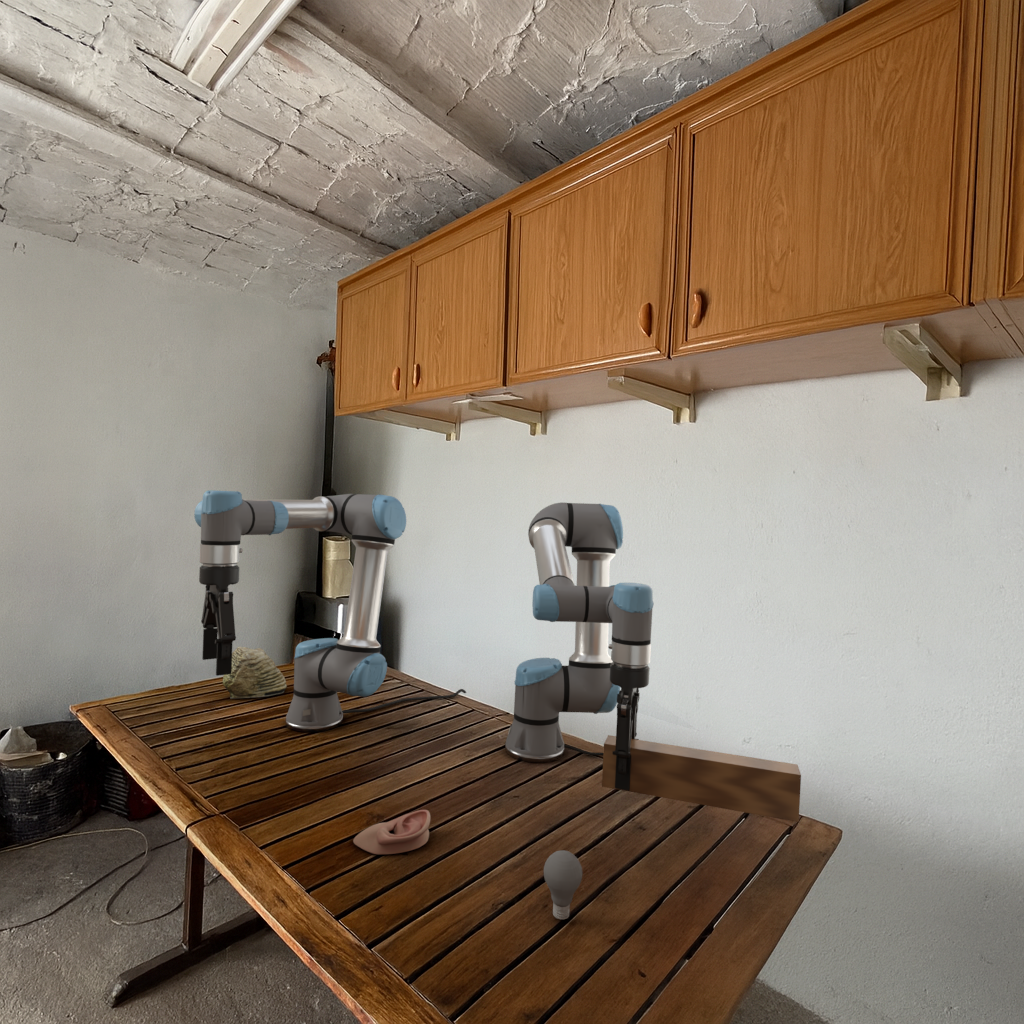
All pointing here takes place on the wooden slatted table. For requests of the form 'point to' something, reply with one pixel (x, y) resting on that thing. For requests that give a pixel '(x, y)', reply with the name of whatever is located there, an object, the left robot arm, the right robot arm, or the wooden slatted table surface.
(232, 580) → the left robot arm
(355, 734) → the wooden slatted table surface
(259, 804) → the wooden slatted table surface
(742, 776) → the bar
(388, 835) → the anatomical model
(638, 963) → the wooden slatted table surface
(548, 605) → the right robot arm
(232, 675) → the fossil
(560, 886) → the light bulb
